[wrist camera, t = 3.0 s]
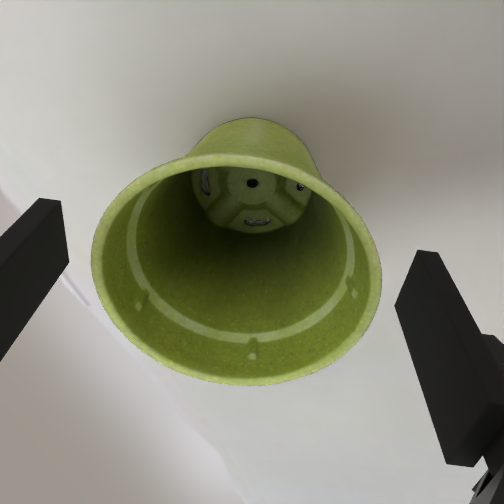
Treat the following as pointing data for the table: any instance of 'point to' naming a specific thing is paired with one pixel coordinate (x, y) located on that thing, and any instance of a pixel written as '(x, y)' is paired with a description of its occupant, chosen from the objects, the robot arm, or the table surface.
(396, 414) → the table surface
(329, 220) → the plant pot
